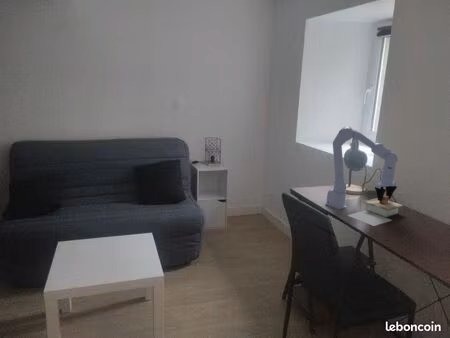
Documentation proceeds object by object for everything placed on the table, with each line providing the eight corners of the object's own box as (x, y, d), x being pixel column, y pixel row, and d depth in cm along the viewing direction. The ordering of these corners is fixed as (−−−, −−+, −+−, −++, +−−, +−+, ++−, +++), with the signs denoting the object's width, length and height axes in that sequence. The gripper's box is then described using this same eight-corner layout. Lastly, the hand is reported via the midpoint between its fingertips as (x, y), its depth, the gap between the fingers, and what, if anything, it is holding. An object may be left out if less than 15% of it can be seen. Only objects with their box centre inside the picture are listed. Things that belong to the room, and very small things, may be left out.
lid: (363, 202, 186) (364, 194, 185) (379, 198, 193) (380, 190, 192) (387, 210, 174) (389, 201, 173) (403, 206, 182) (404, 197, 181)
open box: (366, 210, 186) (367, 203, 185) (378, 207, 192) (379, 200, 191) (385, 217, 177) (386, 209, 176) (397, 214, 183) (398, 206, 182)
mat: (346, 215, 178) (346, 215, 178) (365, 210, 186) (365, 210, 186) (373, 226, 165) (373, 226, 165) (392, 220, 174) (392, 220, 174)
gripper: (387, 178, 173) (382, 203, 176) (403, 175, 181) (398, 199, 184) (374, 174, 178) (370, 199, 182) (390, 172, 186) (386, 196, 190)
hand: (384, 199), depth 183 cm, fingers open, 7 cm apart
